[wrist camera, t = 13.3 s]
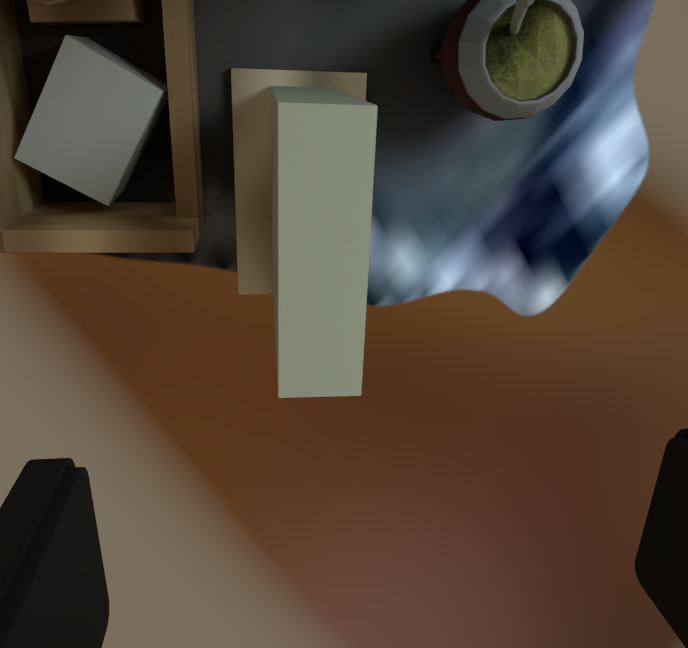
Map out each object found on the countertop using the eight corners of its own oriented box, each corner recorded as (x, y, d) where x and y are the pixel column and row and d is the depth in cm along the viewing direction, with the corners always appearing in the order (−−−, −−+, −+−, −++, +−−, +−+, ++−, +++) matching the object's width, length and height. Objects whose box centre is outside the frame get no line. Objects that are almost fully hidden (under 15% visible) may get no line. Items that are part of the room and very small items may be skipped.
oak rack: (181, -217, 31) (161, -288, 25) (204, 221, 40) (194, 252, 34) (-213, -253, 29) (-347, -342, 23) (-99, 220, 38) (-172, 252, 31)
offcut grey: (173, 88, 37) (162, 91, 33) (124, 190, 39) (107, 206, 35) (88, 37, 35) (65, 34, 31) (41, 147, 37) (14, 157, 33)
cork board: (365, 72, 38) (366, 73, 37) (355, 290, 43) (356, 293, 43) (231, 68, 37) (230, 68, 36) (238, 291, 42) (238, 294, 42)
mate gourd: (531, 108, 40) (673, 134, 26) (410, 118, 39) (491, 150, 25) (538, -25, 37) (703, -74, 23) (407, -17, 36) (497, -63, 22)
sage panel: (331, 87, 37) (377, 105, 23) (326, 278, 42) (361, 395, 27) (271, 85, 37) (278, 102, 22) (272, 278, 41) (278, 397, 27)
